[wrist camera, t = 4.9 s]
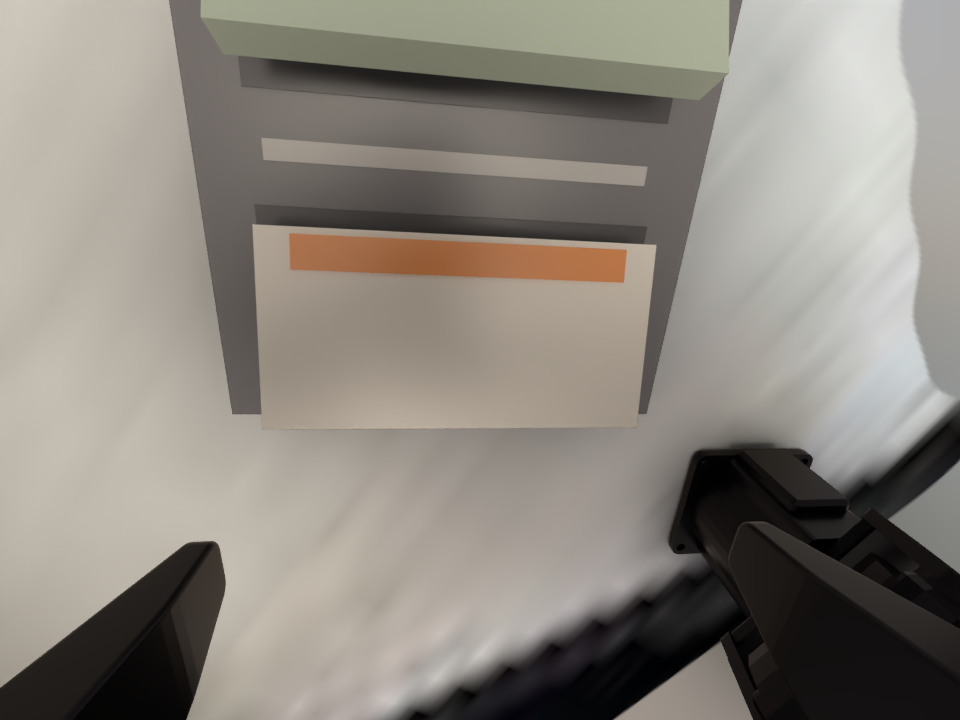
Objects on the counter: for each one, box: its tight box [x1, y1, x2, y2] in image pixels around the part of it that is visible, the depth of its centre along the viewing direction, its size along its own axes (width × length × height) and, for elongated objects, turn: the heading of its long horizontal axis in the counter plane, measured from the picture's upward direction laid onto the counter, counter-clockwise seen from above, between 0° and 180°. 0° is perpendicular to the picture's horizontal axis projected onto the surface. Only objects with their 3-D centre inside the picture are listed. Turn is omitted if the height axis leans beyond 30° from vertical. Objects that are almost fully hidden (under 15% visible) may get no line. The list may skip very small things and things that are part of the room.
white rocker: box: [252, 224, 656, 429], centre depth 16 cm, size 6×12×2 cm, turn 86°
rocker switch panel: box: [169, 0, 742, 414], centre depth 16 cm, size 20×16×3 cm
